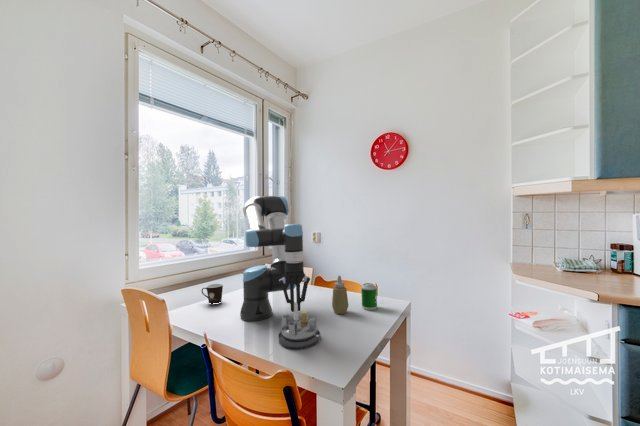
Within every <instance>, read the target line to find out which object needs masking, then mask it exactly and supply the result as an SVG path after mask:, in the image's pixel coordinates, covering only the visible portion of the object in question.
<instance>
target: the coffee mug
mask: <svg viewBox="0 0 640 426" xmlns="http://www.w3.org/2000/svg"><path fill="white" fill-rule="evenodd" d="M223 288H224V285H223V283H211V284H208V285H206V287H202V288H201V294H202V295H203V296H204V297H206V298H207V300H208V304H209V303H211V304H213V303H219V302H221V303H222V299H223ZM203 290H206V292H207V295H206V294H205V293H204V292H203Z"/></svg>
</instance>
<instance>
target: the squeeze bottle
mask: <svg viewBox="0 0 640 426" xmlns="http://www.w3.org/2000/svg"><path fill="white" fill-rule="evenodd" d="M336 281H337V282H334V287H332V299H331V300H332V301H331V306H332V309H333V312H334V314H336V315H345V314H346V313H347V311H348V307H349V299H348V290H347V288H346V287H345V282H343V281H342V276H341V275H337V280H336Z"/></svg>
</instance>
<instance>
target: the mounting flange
mask: <svg viewBox="0 0 640 426" xmlns="http://www.w3.org/2000/svg"><path fill="white" fill-rule="evenodd" d="M320 341H321V333H320V330H319V329H318V328H317V334H316V335H315V337H313V338H311V339H309V340H306V341H300V342H293V341H288V340H286V339H284V338H283V337H282V330H281V331H280V332H279V333H278V343H279V345H280V346H281V347H282V348H284V347H285V348H284V349H287V350H292V351H293V350H295V351H298V350H299V351H300V350H305V349H306V350H307V349H309V348H312V347H314V346H316V345H317V344H318V343H319V342H320Z"/></svg>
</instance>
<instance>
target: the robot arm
mask: <svg viewBox="0 0 640 426" xmlns="http://www.w3.org/2000/svg"><path fill="white" fill-rule="evenodd" d="M242 210H243V215H244V217H245V218H246V222H247V230H246V231H245V246H246V247H247V248H259V247H260V248H261V247H263V248H265V247H271V254H272V255H271V256H272V262H271V263H270V268H269V267H268V266H267V265H264V264H263V265H256V266H252V267H251V266H250V267H249V268H246V269H245V270H244V271H243V273H242V275H243V276H242V283H243V284H242V285H243V288H242V289H243V302H242V304H241V308H240V312H239V315H240V317H241V318H240V319H241V320H243V321H247V322H257V321H261V320H266V319H267V318H270V317H271V316H272V315H273V307H272V306H271V303H270V300H269V299H270V298H269V293H274V292H280V291H281V292H282V291H283V295H284V298H285V301H286V304H290V311H291V313H293V320H294V321H299V312H300V311H301V304H302V303H303V302H305V299H306V295H307V290H308V285H309V282H310V281H311V278H310V277H309V276H307V275H306V274H305V272H304V262H303V261H304V245H303V243H304V242H303V241H304V240H303V235H304V234H303V233H304V232H303V225H302V224H300V223H290V224H286V223H285V219H286V218H287V216H288V215H289V213H290V211H289V210H290V209H289V203H288V200H287V198H286V197H285V196H282V195H256V196H253V197H251V198H250V199H248V200H247V201H246V202H245V204H244V205H243V209H242ZM263 217H265V220H266V221H267V222H268V226H269V228H266V225H265V221H264V218H263ZM302 281H303V285H302V290H301V283H302ZM294 289H295V291H294ZM288 291H289V294H288ZM295 294H296V296H295ZM289 296H290V297H289ZM295 297H296V301H295Z"/></svg>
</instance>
